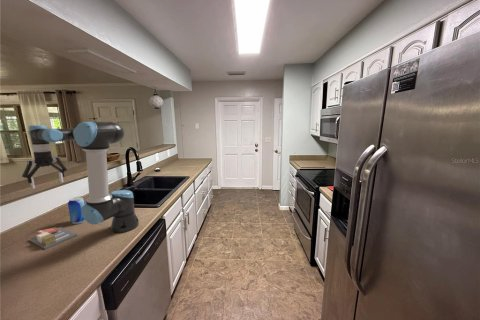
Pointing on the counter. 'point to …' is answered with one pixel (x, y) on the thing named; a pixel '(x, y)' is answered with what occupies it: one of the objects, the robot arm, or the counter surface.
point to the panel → (59, 237)
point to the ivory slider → (42, 236)
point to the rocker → (48, 230)
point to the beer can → (76, 210)
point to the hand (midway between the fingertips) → (48, 185)
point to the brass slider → (48, 239)
